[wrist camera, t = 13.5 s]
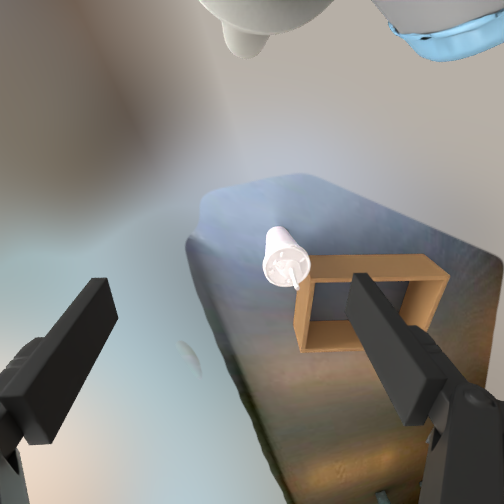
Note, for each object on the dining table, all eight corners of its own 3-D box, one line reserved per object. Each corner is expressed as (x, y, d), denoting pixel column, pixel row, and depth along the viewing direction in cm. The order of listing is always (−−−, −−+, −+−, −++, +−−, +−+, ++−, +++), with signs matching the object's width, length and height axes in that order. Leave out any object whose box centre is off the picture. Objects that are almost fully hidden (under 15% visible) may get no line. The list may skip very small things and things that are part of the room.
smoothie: (285, 259, 48) (302, 314, 36) (251, 245, 46) (257, 298, 34) (304, 227, 45) (330, 275, 33) (269, 212, 44) (282, 256, 31)
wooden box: (300, 255, 48) (310, 278, 42) (423, 253, 49) (450, 275, 43) (293, 324, 55) (300, 352, 49) (399, 321, 56) (419, 348, 50)
